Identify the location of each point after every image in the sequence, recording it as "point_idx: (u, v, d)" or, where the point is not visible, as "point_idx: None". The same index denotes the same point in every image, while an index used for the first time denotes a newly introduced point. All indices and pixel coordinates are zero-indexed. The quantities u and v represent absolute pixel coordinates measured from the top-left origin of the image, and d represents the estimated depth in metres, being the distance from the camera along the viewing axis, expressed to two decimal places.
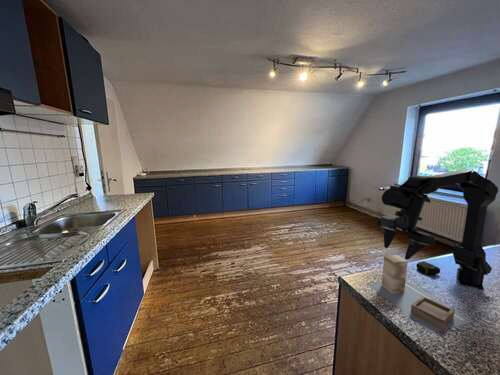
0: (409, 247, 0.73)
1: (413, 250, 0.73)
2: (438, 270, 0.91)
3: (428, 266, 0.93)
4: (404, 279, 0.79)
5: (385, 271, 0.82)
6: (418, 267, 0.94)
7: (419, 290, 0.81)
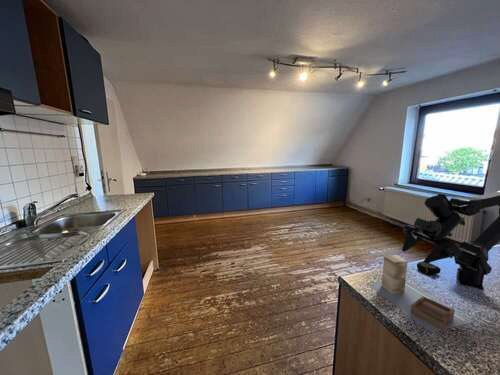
0: (433, 252, 0.75)
1: (435, 256, 0.75)
2: (438, 270, 0.92)
3: (428, 266, 0.93)
4: (404, 279, 0.79)
5: (385, 271, 0.82)
6: (418, 267, 0.94)
7: (419, 290, 0.81)
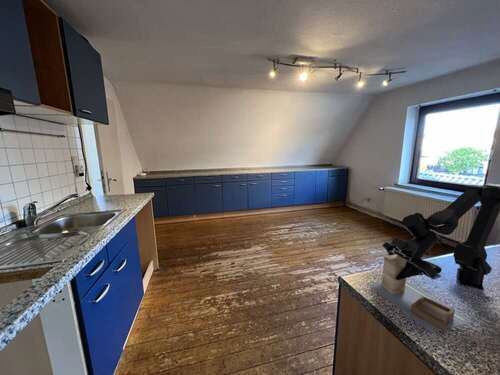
0: (404, 269, 0.77)
1: (406, 273, 0.77)
2: (439, 269, 0.92)
3: None
4: (404, 279, 0.79)
5: (385, 271, 0.82)
6: None
7: (419, 290, 0.81)
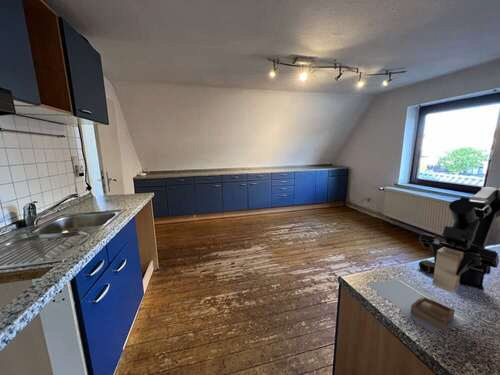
0: (464, 262, 0.68)
1: (466, 266, 0.68)
2: None
3: (430, 265, 0.94)
4: None
5: (439, 268, 0.71)
6: (421, 266, 0.95)
7: (419, 290, 0.81)
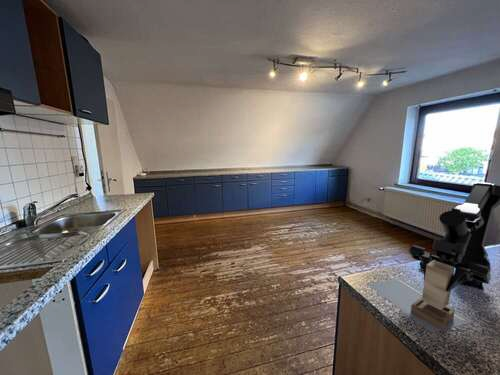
0: (455, 277, 0.64)
1: (456, 281, 0.65)
2: None
3: None
4: None
5: (429, 283, 0.67)
6: (421, 265, 0.95)
7: (419, 290, 0.81)
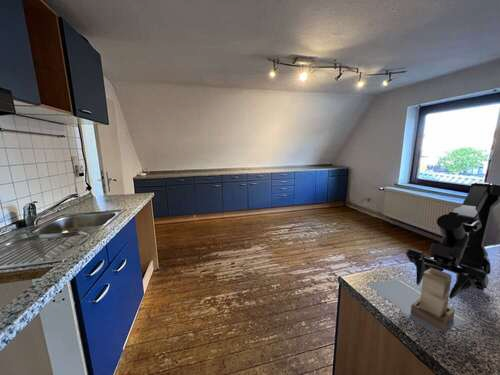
0: (458, 283, 0.63)
1: (460, 288, 0.63)
2: None
3: None
4: (448, 296, 0.66)
5: (426, 291, 0.67)
6: None
7: (419, 290, 0.81)
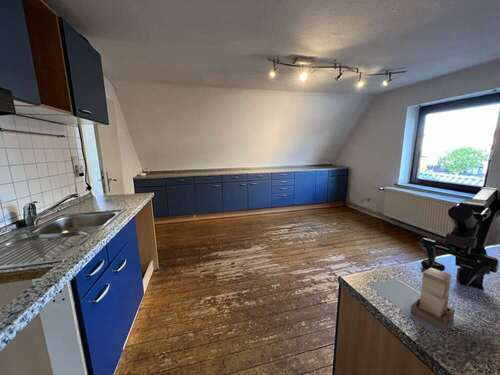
0: (474, 271, 0.67)
1: (475, 275, 0.67)
2: (443, 267, 0.93)
3: None
4: (447, 296, 0.66)
5: (426, 291, 0.67)
6: (423, 264, 0.96)
7: (419, 290, 0.81)
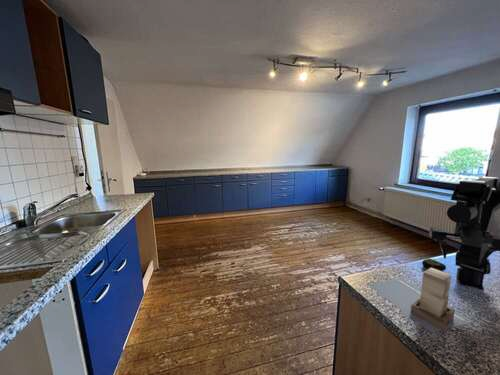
0: (487, 254, 0.73)
1: None
2: (444, 267, 0.94)
3: (434, 263, 0.95)
4: (447, 296, 0.66)
5: (426, 291, 0.67)
6: (424, 264, 0.96)
7: (419, 290, 0.81)
